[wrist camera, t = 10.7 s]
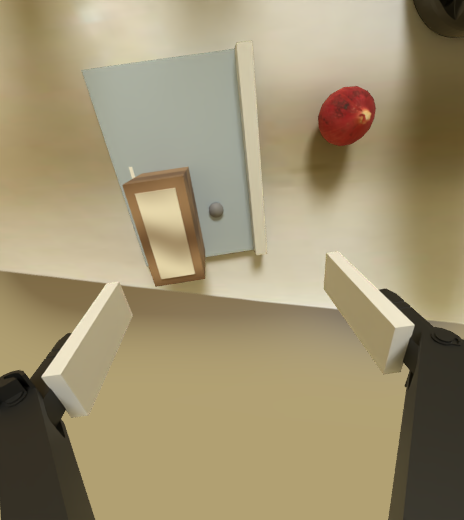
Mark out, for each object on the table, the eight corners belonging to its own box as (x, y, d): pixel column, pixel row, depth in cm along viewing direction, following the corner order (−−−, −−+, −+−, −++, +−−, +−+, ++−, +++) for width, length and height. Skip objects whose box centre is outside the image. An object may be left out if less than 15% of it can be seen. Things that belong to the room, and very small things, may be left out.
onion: (299, 123, 31) (326, 120, 24) (332, 80, 29) (372, 62, 22) (329, 153, 33) (362, 158, 26) (362, 114, 31) (407, 108, 24)
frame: (141, 173, 31) (121, 185, 24) (188, 166, 31) (182, 176, 24) (165, 257, 37) (155, 287, 29) (205, 250, 37) (204, 279, 29)
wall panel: (86, 72, 27) (72, 65, 24) (247, 50, 27) (252, 40, 25) (148, 262, 38) (143, 273, 35) (262, 244, 38) (267, 253, 36)
